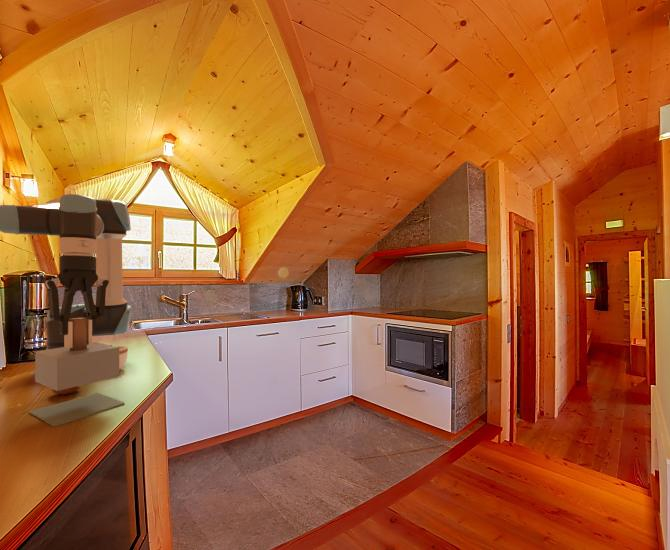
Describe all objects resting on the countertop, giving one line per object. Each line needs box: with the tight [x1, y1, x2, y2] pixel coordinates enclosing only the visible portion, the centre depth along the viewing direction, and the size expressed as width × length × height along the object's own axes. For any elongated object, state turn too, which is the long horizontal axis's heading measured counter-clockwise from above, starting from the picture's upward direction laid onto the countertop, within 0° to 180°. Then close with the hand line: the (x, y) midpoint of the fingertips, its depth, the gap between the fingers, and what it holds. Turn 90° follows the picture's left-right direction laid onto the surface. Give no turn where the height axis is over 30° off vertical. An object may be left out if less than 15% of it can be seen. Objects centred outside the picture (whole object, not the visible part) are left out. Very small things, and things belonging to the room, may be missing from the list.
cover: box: [34, 318, 120, 391], centre depth 83 cm, size 13×13×16 cm
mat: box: [28, 392, 126, 428], centre depth 83 cm, size 15×15×1 cm
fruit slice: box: [50, 385, 82, 395], centre depth 94 cm, size 8×7×5 cm
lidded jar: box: [110, 344, 129, 371], centre depth 117 cm, size 11×11×9 cm
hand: (78, 345), depth 83 cm, fingers closed on cover, 4 cm apart
